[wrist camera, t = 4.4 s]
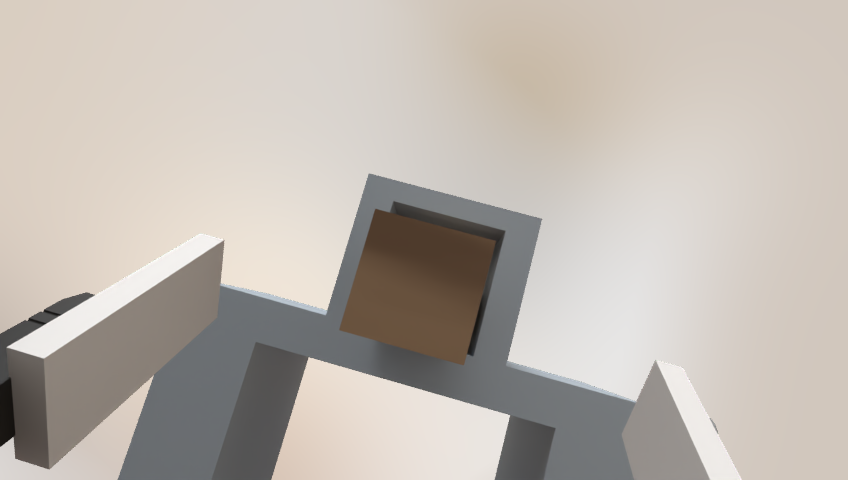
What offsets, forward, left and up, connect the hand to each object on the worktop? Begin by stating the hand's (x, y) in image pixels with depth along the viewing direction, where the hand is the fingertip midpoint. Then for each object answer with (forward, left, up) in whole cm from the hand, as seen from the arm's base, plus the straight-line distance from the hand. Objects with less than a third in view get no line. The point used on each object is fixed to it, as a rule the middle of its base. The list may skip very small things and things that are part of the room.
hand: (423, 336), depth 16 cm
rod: (-8, +7, 0) cm, 10 cm away
